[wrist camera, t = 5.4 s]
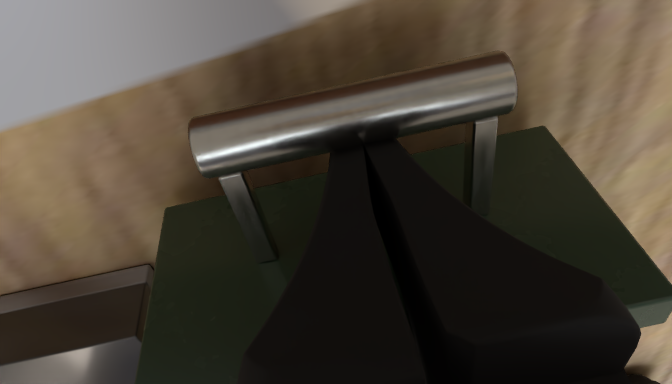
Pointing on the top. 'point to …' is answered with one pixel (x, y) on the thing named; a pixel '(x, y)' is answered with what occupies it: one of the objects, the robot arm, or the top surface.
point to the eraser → (76, 330)
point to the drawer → (302, 208)
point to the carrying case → (641, 379)
